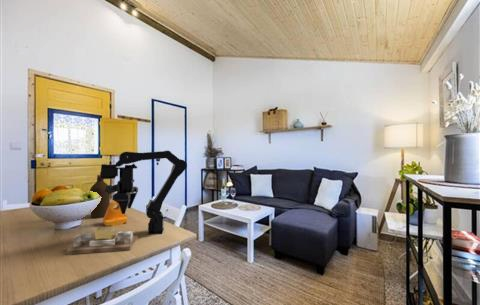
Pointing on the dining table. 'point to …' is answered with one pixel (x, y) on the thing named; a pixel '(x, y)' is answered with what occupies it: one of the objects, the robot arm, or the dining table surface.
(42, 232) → the dining table surface
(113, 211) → the bracket
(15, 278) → the dining table surface
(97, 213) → the olive oil
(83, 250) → the coupling base
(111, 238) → the tan rectangular block
